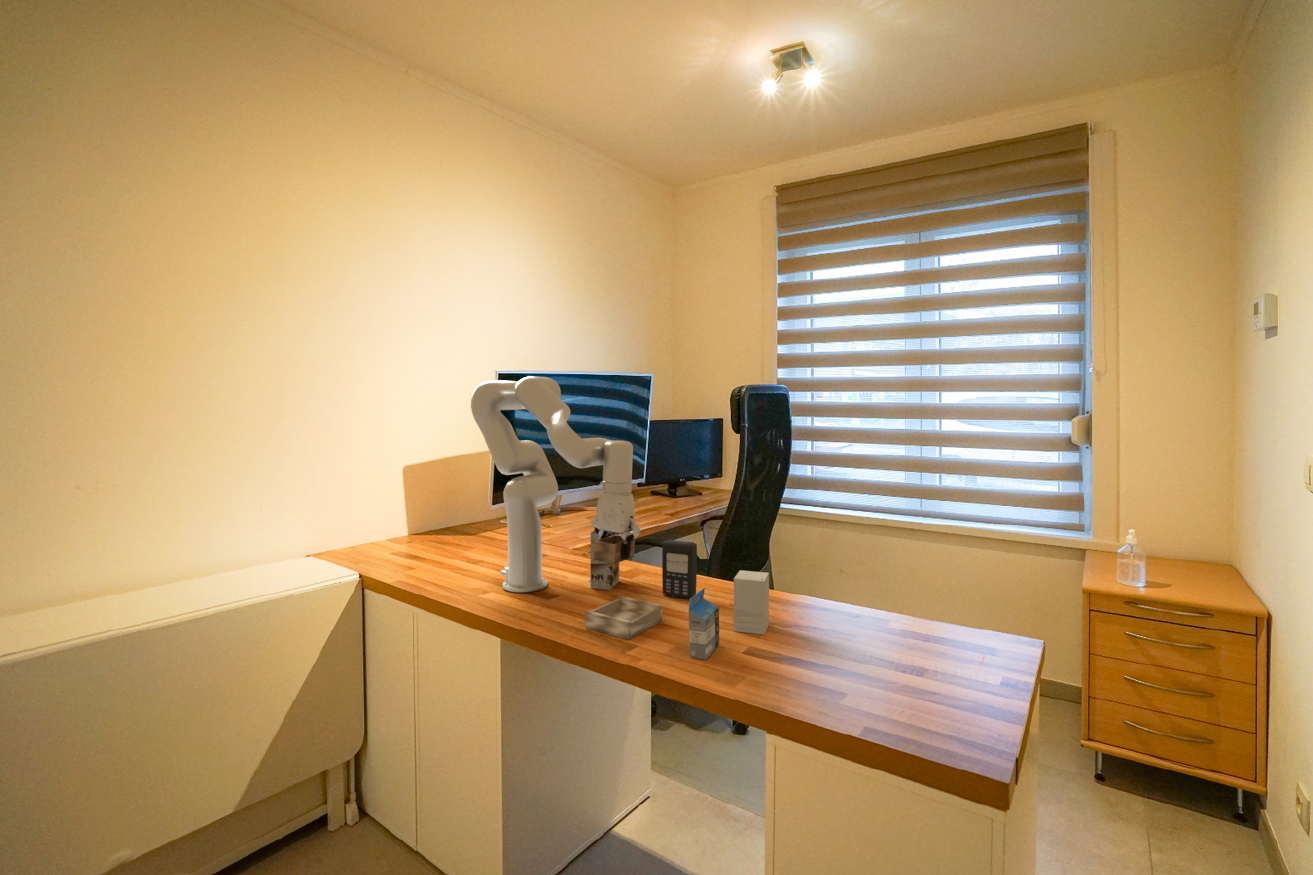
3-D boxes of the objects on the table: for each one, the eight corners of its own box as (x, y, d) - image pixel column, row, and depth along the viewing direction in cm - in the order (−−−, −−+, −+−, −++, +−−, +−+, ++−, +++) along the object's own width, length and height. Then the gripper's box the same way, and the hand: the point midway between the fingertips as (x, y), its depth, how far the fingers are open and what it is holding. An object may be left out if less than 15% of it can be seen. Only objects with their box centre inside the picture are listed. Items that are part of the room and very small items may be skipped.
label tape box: (706, 660, 124) (706, 601, 123) (687, 657, 126) (688, 599, 125) (720, 644, 132) (720, 589, 131) (702, 641, 134) (703, 587, 133)
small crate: (593, 559, 157) (594, 540, 157) (614, 552, 165) (615, 534, 164) (613, 564, 154) (614, 544, 153) (634, 556, 161) (634, 538, 161)
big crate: (585, 627, 141) (585, 611, 141) (620, 610, 153) (620, 595, 152) (628, 639, 134) (628, 622, 134) (662, 621, 146) (662, 605, 146)
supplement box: (769, 624, 144) (770, 572, 143) (764, 635, 137) (765, 581, 136) (739, 620, 147) (739, 569, 146) (732, 631, 140) (733, 577, 139)
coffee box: (611, 590, 169) (611, 533, 168) (589, 588, 171) (589, 532, 170) (620, 580, 178) (620, 526, 177) (599, 579, 180) (599, 525, 179)
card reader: (660, 596, 164) (660, 541, 163) (666, 591, 168) (666, 538, 167) (692, 600, 161) (692, 545, 160) (697, 596, 164) (697, 541, 163)
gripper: (582, 485, 159) (579, 552, 161) (635, 494, 150) (632, 564, 151) (600, 482, 166) (597, 546, 167) (652, 490, 156) (649, 558, 158)
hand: (614, 554), depth 159 cm, fingers closed on small crate, 6 cm apart
